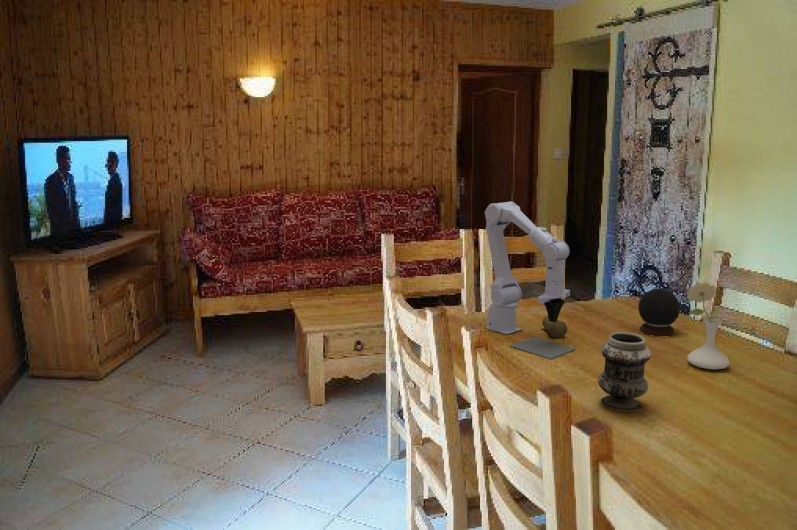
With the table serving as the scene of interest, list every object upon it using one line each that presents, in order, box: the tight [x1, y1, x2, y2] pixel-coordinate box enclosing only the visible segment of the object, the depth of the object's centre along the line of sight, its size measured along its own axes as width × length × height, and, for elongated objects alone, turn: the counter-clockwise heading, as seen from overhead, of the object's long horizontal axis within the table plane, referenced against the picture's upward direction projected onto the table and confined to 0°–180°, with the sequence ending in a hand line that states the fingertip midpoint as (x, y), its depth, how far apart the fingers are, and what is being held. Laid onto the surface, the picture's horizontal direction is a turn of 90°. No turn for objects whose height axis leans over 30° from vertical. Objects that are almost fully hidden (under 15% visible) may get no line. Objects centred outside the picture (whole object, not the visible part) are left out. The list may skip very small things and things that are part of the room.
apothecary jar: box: [597, 331, 652, 413], centre depth 164 cm, size 12×12×18 cm
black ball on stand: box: [637, 288, 681, 337], centre depth 222 cm, size 13×13×15 cm
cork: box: [541, 315, 568, 339], centre depth 222 cm, size 6×6×11 cm
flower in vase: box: [686, 281, 731, 370], centre depth 190 cm, size 13×11×25 cm
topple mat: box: [509, 336, 577, 360], centre depth 208 cm, size 16×13×1 cm
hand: (552, 321), depth 209 cm, fingers closed
